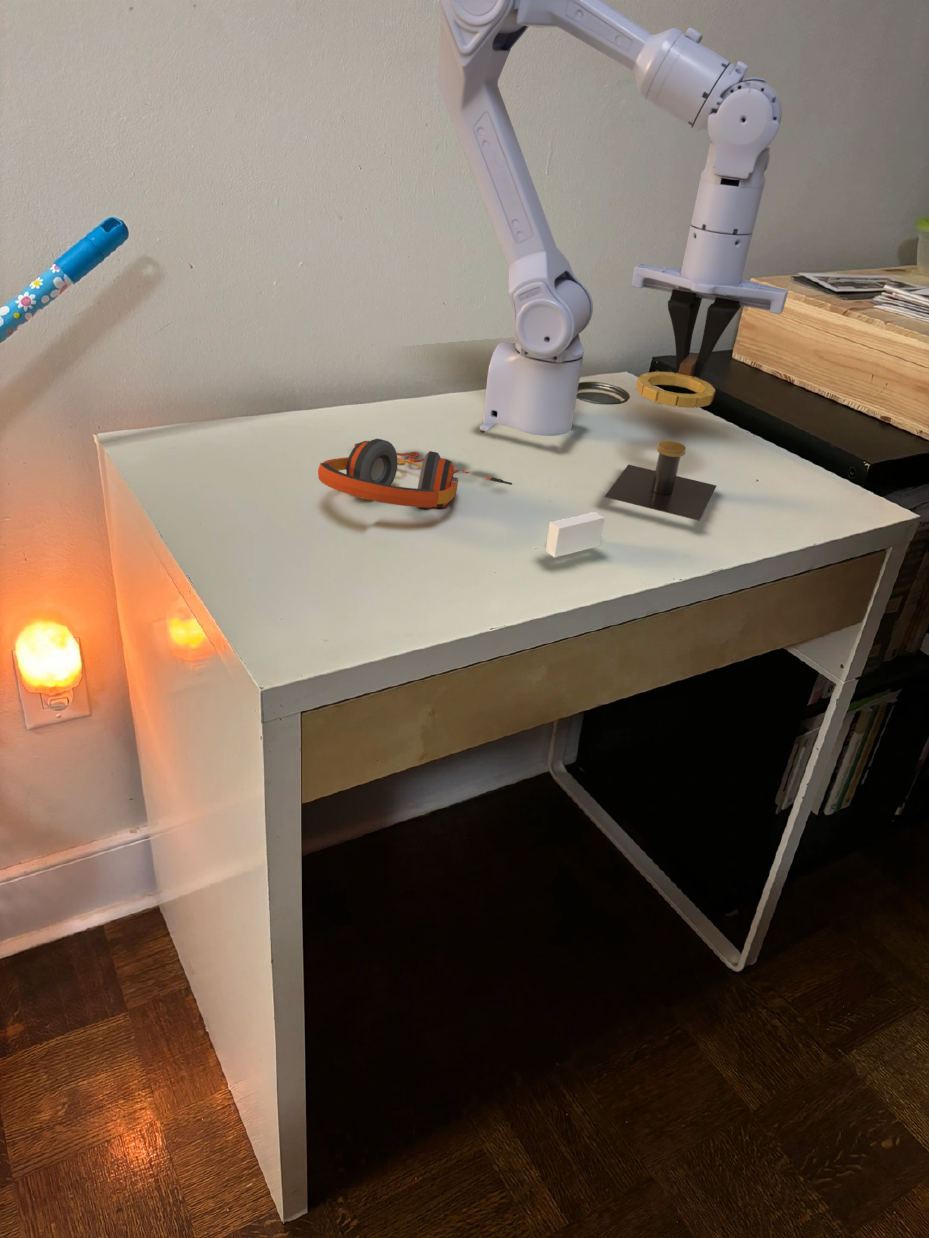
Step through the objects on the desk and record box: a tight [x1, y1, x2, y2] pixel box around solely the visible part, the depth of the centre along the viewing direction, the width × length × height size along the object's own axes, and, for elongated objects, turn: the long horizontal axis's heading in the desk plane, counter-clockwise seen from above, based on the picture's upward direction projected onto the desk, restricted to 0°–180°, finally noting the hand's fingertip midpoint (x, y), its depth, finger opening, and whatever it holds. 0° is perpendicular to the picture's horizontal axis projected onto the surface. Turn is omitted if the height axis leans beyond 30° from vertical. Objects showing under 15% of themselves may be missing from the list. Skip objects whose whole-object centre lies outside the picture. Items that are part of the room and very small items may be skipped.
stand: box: [604, 440, 717, 522], centre depth 88 cm, size 9×9×6 cm
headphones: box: [317, 438, 513, 510], centre depth 83 cm, size 17×5×20 cm
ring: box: [635, 351, 716, 409], centre depth 89 cm, size 12×7×2 cm, turn 157°
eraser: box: [545, 511, 606, 558], centre depth 77 cm, size 1×5×4 cm, turn 123°
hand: (689, 372), depth 93 cm, fingers closed on ring, 1 cm apart
